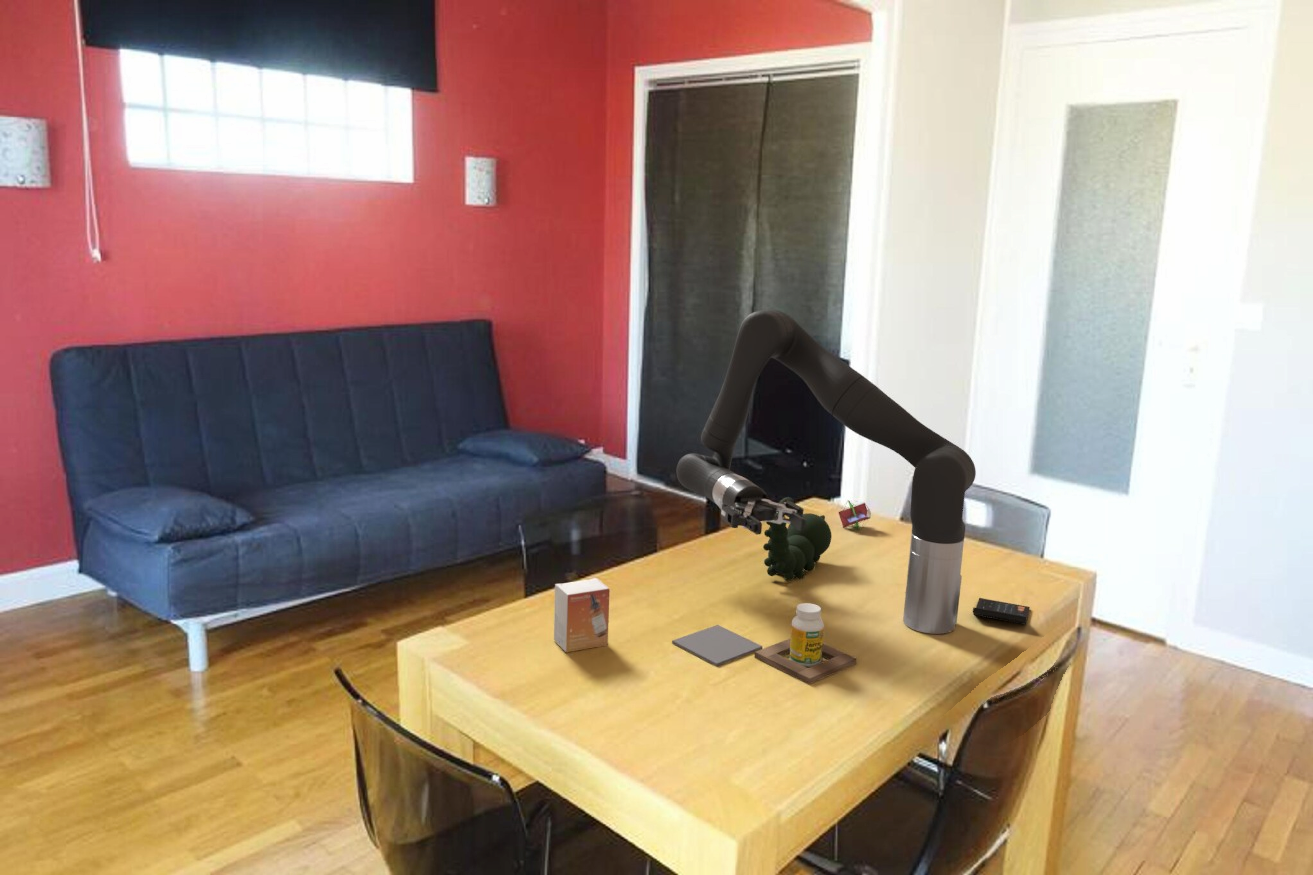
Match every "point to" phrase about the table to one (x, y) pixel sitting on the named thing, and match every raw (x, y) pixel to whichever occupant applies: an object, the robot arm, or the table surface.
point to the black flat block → (1001, 611)
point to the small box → (581, 615)
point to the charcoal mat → (717, 645)
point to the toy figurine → (796, 545)
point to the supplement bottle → (807, 635)
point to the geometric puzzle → (854, 515)
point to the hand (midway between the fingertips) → (781, 527)
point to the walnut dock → (808, 675)
